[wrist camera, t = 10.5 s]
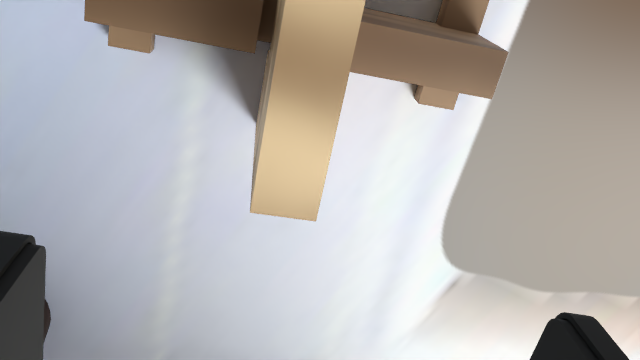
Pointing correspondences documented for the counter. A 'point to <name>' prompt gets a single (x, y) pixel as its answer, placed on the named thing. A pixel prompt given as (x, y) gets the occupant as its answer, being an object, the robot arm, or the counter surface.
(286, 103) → the oak slotted plate
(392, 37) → the walnut notched block
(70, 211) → the counter surface
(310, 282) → the counter surface
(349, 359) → the counter surface
